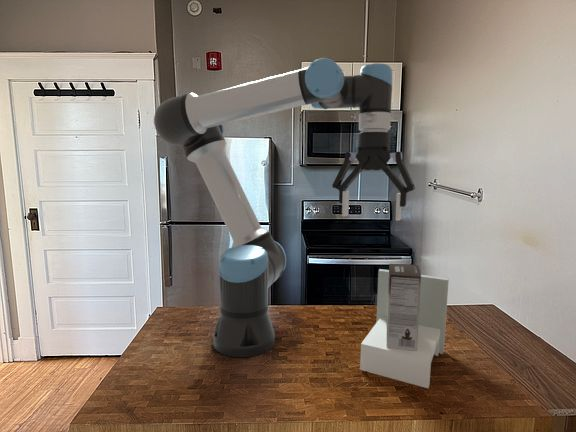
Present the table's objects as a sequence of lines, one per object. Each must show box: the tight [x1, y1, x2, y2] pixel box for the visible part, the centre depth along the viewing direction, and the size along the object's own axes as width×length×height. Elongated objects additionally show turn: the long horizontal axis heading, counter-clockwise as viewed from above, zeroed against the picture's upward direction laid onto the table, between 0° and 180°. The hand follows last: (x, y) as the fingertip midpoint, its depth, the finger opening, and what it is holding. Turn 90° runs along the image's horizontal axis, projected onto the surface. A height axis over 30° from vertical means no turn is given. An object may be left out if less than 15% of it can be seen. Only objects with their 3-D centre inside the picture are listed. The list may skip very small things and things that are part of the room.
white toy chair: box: [359, 268, 450, 389], centre depth 84 cm, size 16×18×18 cm
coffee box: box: [387, 263, 422, 351], centre depth 81 cm, size 9×6×16 cm
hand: (370, 218), depth 94 cm, fingers open, 13 cm apart
